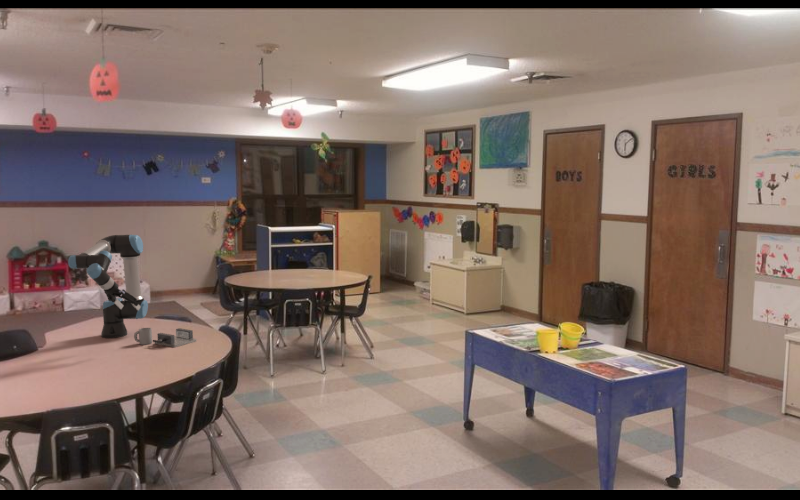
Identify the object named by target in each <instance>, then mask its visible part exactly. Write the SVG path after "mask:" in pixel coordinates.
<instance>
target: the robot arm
mask: <svg viewBox="0 0 800 500" xmlns="http://www.w3.org/2000/svg"><path fill="white" fill-rule="evenodd" d="M143 251H144V242H143V240H142V238H141V236H139V235H137V234H112V235H108V236H106V237H103V238H101V239H99V240H97V241H96V242H95V244H94V245H93V246H91V247H89V248H88V249H86V250H84V251H82V253H80V254H73V255H70V256H68V260H67V261H68V267H69V268H70V269H76V270H78V269H80V270H81V269H86V274H87V275H88V276H89V277H90V278H91V279H92V280H93V281H94V282H95V283H96V284H97V286H98V287H100V289H102V290H103V291H104V293H105V295H106V297H107V300H105V301H104V302H103V303H102V317H103V325H102V326H103V327H102V330H101V337H102V338H106V339H114V338H115V339H116V338H120V337H124V336H127V335H128V329H127V327H126V324H125V322H124V320H135V319H136V320H138V319H141V320H142V319H144V318H145V317H146V315H147V313H148V309H149V302H148V300H147V299H145V296H143V294H142V291H141V279H140V267H139V265H140V264H139V258H140V257H141V254H142V253H143ZM112 254H118V255H120V258H121V259H122V261H123V270H124V271H123V273H124V284H125V289H122V290H121V289H119V284H118V283H117V282H116V281H115V280H114V279H113V278H112V277H111V276H110V275H109V273H108V269H109V268H110V266H111V265H110V264H111V263H112V259H113V255H112ZM117 297H118V298H117Z"/></svg>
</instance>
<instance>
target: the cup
mask: <svg viewBox="0 0 800 500" xmlns="http://www.w3.org/2000/svg"><path fill="white" fill-rule="evenodd" d="M152 329H153V328H152V327H141V328H139V329H138V331H136V332H134V335H133V339H134V341H135V342H137V343H139V345H140V346H146V345H152V343H153V335H152V334H153V332H152Z"/></svg>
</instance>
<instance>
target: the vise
mask: <svg viewBox="0 0 800 500" xmlns="http://www.w3.org/2000/svg"><path fill="white" fill-rule="evenodd" d="M156 334H157V340H156V339H152V343H154V344H155V345H160V346H164V347H165V346H166V347H170V348H178V347H181V346H185V345H188V343H189V344H193V343H196V342H197V341H198V340H197V338H194V336H193V335H194V332H193V330H192V329H186V328H176V329H175V335H174V334H171V333H170V334H169V333H163V332H158V333H156Z"/></svg>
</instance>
